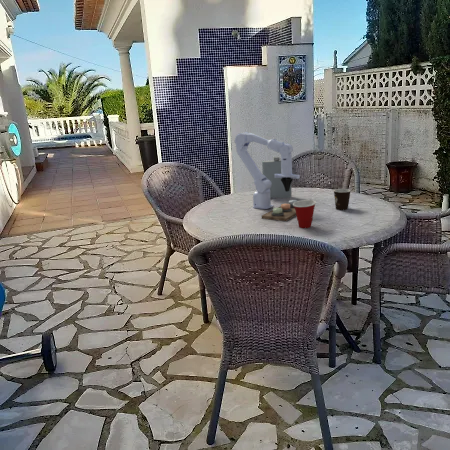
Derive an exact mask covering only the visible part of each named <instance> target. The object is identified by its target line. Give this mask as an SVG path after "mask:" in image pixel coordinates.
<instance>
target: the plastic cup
mask: <svg viewBox="0 0 450 450" xmlns="http://www.w3.org/2000/svg"><path fill="white" fill-rule="evenodd" d="M316 203H317V201H316V200H312V199H305V200H304V199H301V200H297V202H294V203H293V206H294V208H295V210H296V216H295V217H296V221H297V224H298V227H299V229H310V228H311V227H312V224H313V219H314V212H315V208H316Z"/></svg>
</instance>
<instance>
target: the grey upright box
mask: <svg viewBox="0 0 450 450" xmlns="http://www.w3.org/2000/svg"><path fill="white" fill-rule="evenodd" d="M272 158H273V160H263V161H262V162H261V167H262V169H261V170H262V171H261V173H262V174H263V175H265V176H266V178H267V179H269V180H270V181H271V183H272V186H271V188H270V196H271V199H277V198H279V199H280V198H281V199H283V198H286V199H287V198H289V199H290V198H292V184H291V185H290V190H289V191H288V192H286V191H285V188H284V185H283V183H282V181H281V179H282V178H274V174H282V173H281V156H273V157H272Z"/></svg>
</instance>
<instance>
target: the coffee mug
mask: <svg viewBox="0 0 450 450" xmlns="http://www.w3.org/2000/svg"><path fill="white" fill-rule="evenodd" d="M351 192H352V191H351V189H348V188H337V189H334V190H333V195H334V204H335V205H334V207H335V210H337V211H348V209H349V204H350V197H351Z"/></svg>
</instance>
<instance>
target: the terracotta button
mask: <svg viewBox="0 0 450 450" xmlns="http://www.w3.org/2000/svg"><path fill="white" fill-rule="evenodd" d="M280 206H281V208H282V209H284V210H287V209H290V204H289V203H282V204H280Z"/></svg>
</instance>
